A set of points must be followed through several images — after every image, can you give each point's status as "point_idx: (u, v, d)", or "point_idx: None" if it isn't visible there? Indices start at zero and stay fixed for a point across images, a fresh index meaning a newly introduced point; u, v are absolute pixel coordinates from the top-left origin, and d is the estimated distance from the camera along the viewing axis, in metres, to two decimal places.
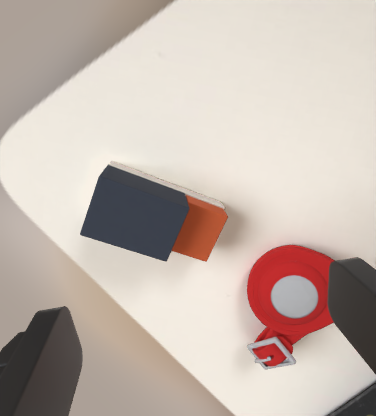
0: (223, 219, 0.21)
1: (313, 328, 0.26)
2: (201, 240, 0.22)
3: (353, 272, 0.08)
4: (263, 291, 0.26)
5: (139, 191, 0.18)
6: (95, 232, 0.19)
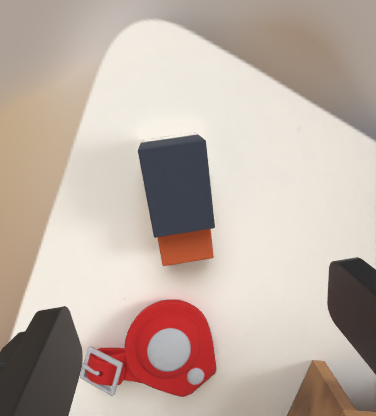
0: (209, 256, 0.23)
1: (151, 383, 0.27)
2: (180, 250, 0.22)
3: (353, 272, 0.08)
4: (155, 324, 0.26)
5: (208, 180, 0.19)
6: (148, 162, 0.18)
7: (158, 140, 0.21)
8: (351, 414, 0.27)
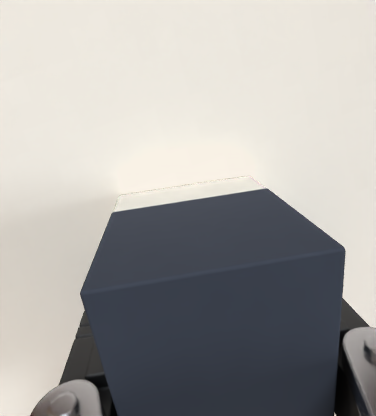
0: None
1: None
2: None
3: None
4: None
5: (333, 370, 0.05)
6: (124, 333, 0.05)
7: (160, 208, 0.07)
8: None
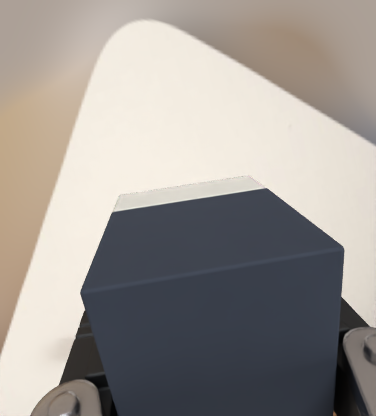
0: None
1: None
2: None
3: None
4: None
5: (333, 369, 0.05)
6: (124, 332, 0.05)
7: (160, 208, 0.07)
8: None
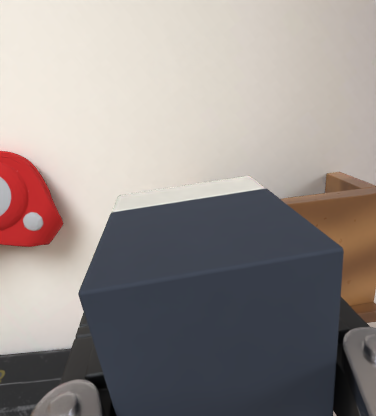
0: None
1: None
2: None
3: None
4: None
5: (333, 370, 0.05)
6: (122, 333, 0.05)
7: (159, 208, 0.07)
8: None
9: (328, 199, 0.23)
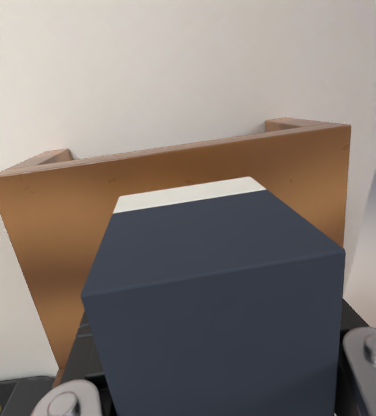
0: None
1: None
2: None
3: None
4: None
5: (334, 371, 0.05)
6: (124, 334, 0.05)
7: (160, 209, 0.07)
8: (13, 170, 0.13)
9: (236, 141, 0.13)
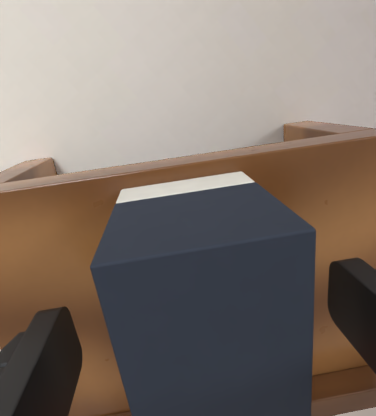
0: None
1: None
2: None
3: (353, 272, 0.08)
4: None
5: (310, 338, 0.06)
6: (127, 302, 0.05)
7: (158, 200, 0.08)
8: None
9: (259, 153, 0.10)
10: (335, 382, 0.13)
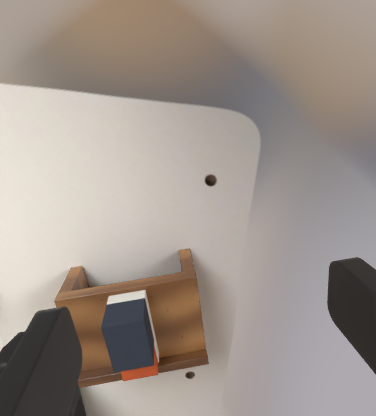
0: (154, 373, 0.33)
1: None
2: (135, 371, 0.33)
3: (353, 272, 0.08)
4: None
5: (147, 340, 0.29)
6: (107, 333, 0.29)
7: (117, 304, 0.31)
8: (62, 294, 0.33)
9: (150, 284, 0.33)
10: (188, 356, 0.36)
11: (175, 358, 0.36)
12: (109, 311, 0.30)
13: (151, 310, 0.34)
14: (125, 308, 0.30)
